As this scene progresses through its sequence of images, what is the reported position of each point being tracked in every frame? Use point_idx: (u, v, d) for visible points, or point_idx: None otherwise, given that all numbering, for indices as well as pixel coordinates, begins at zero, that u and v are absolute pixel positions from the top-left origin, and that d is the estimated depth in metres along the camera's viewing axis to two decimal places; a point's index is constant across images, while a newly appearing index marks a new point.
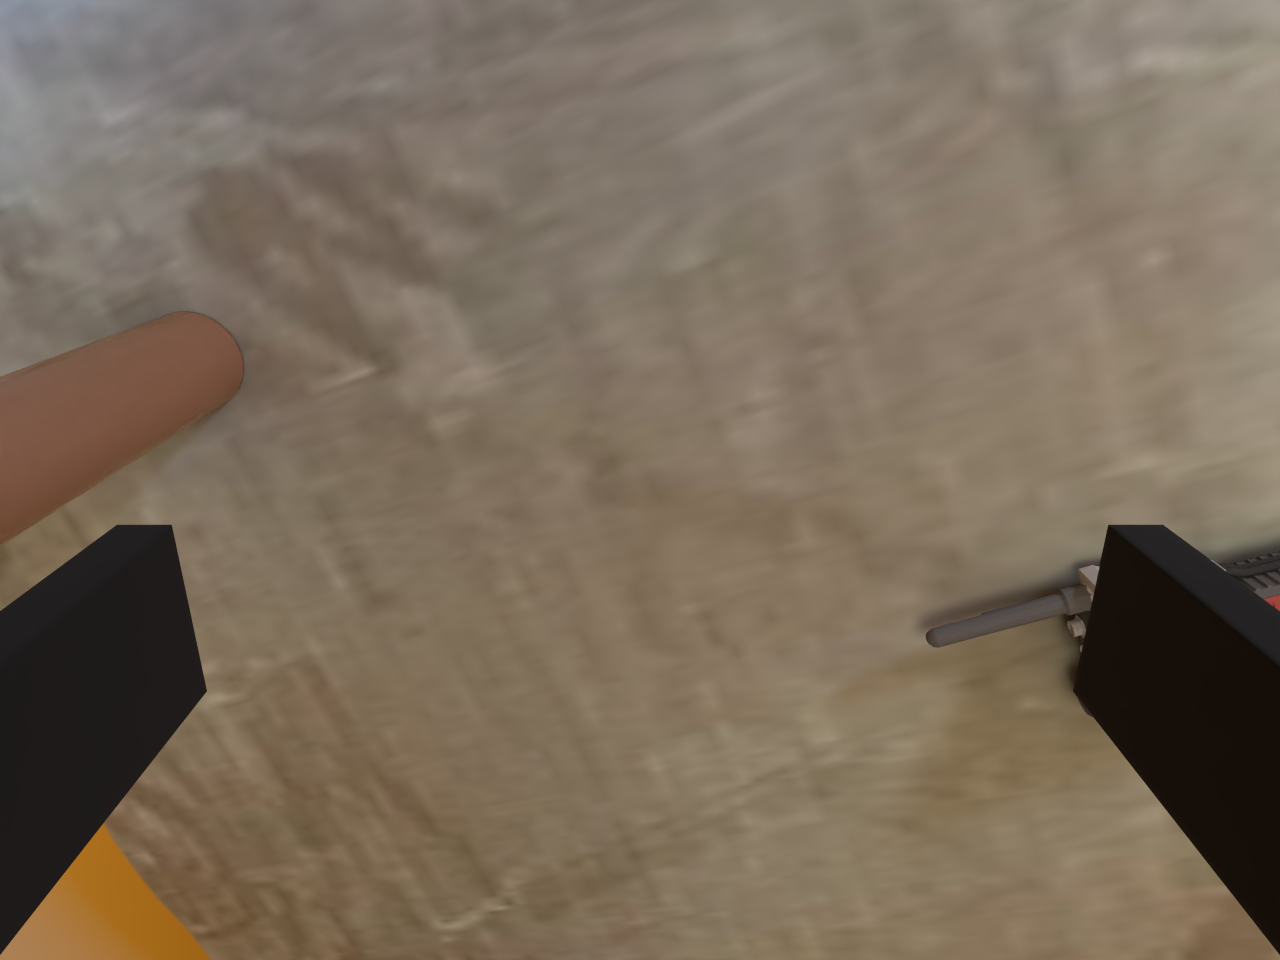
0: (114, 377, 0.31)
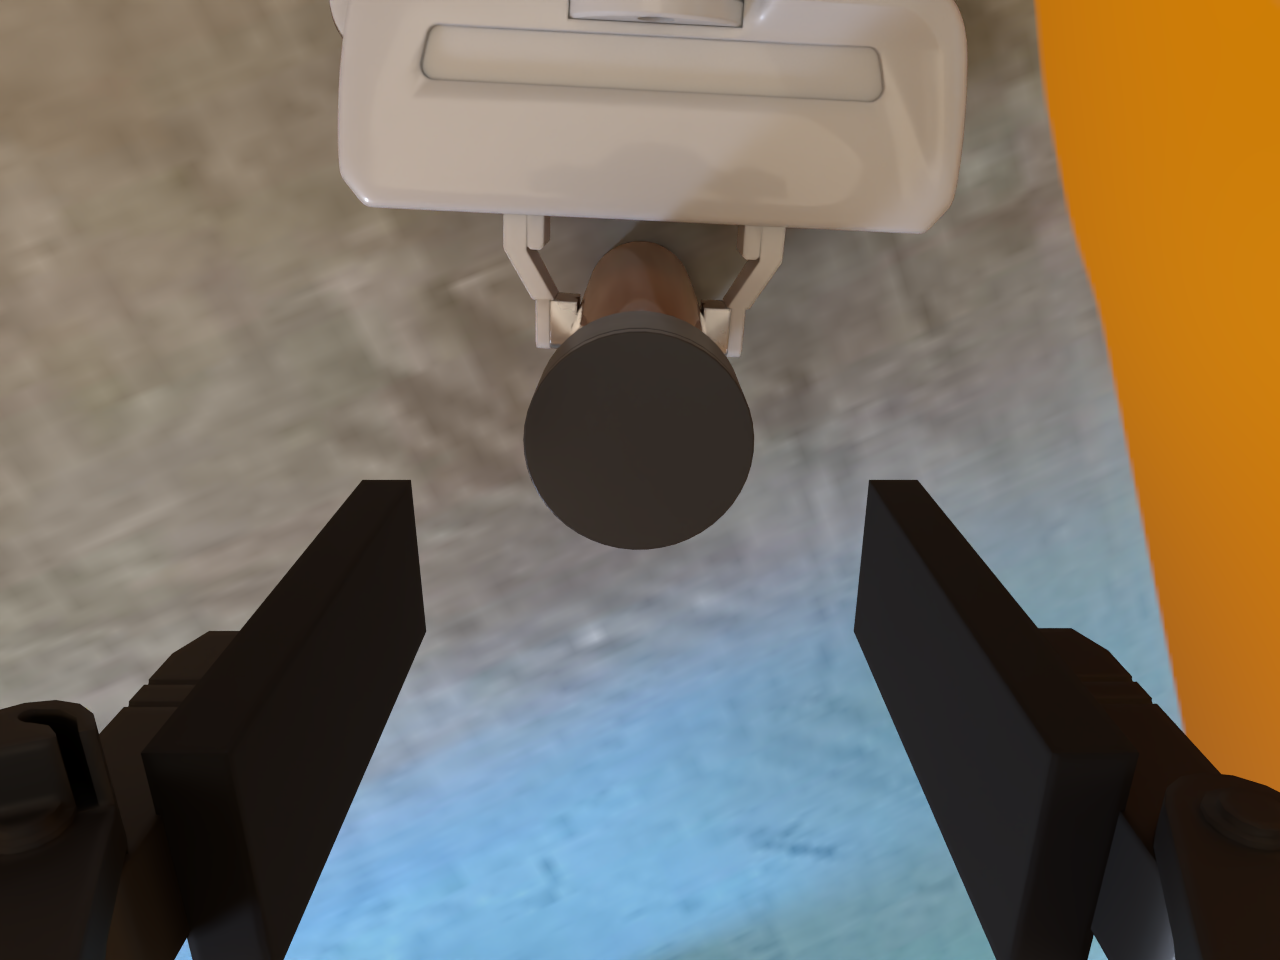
0: None
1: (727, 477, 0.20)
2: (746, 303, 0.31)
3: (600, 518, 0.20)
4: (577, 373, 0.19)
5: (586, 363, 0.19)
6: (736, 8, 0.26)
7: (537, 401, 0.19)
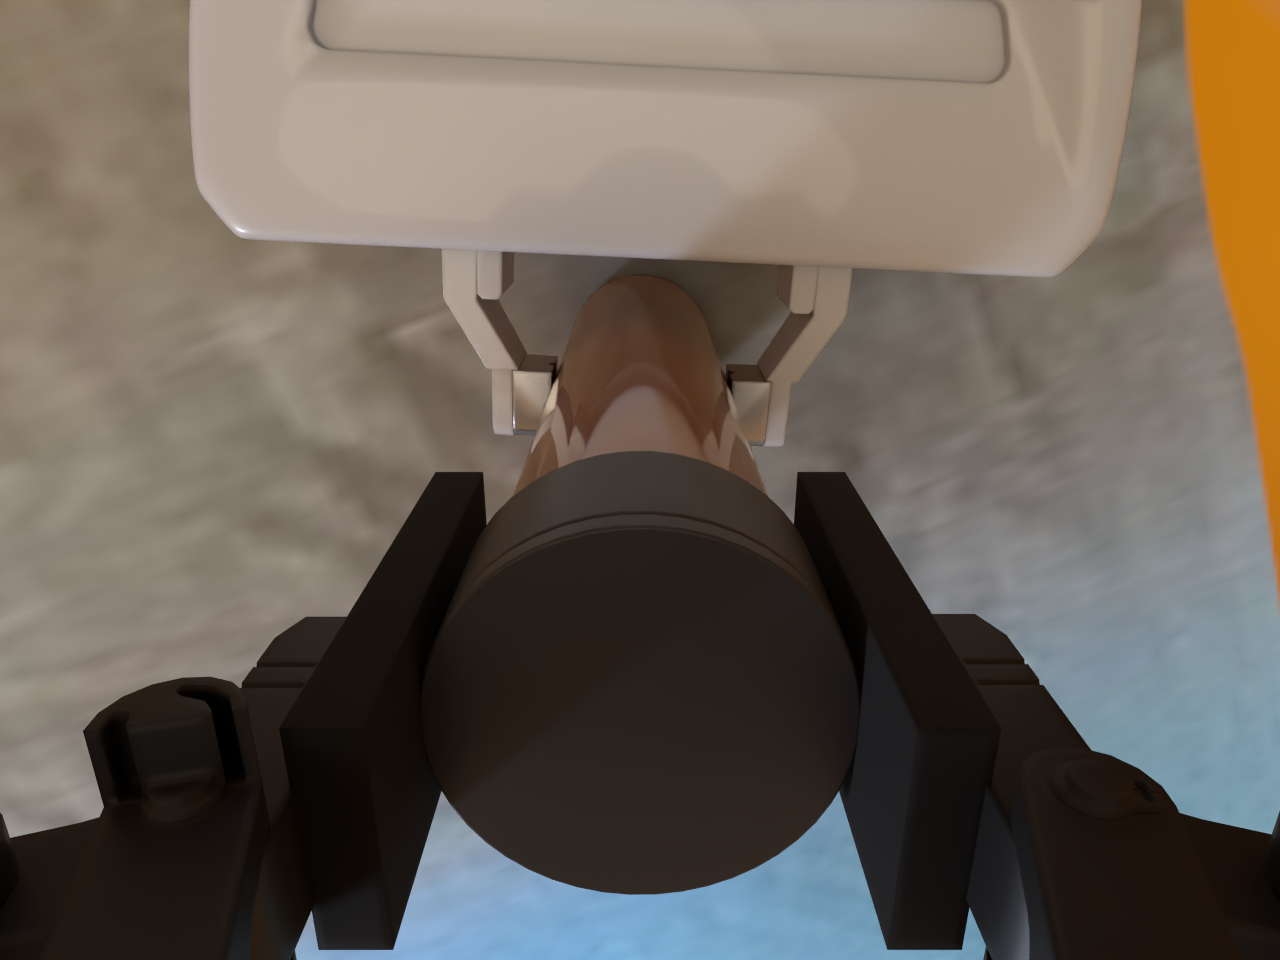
0: None
1: (807, 780, 0.10)
2: (793, 374, 0.21)
3: (568, 846, 0.11)
4: (519, 602, 0.09)
5: (536, 584, 0.09)
6: None
7: (442, 651, 0.10)
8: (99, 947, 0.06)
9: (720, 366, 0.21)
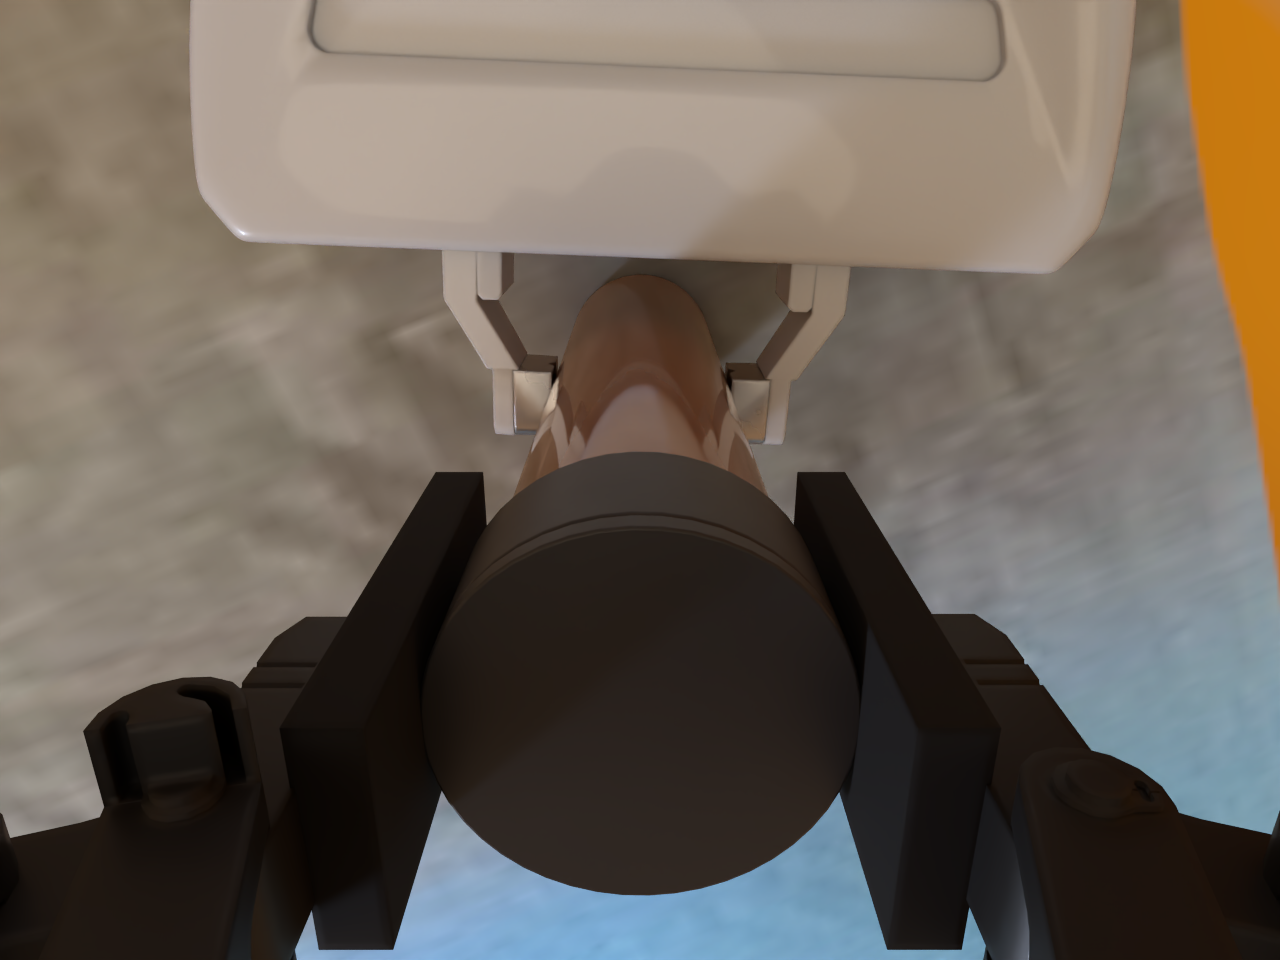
0: None
1: (667, 565, 0.09)
2: (792, 372, 0.21)
3: (803, 761, 0.10)
4: (533, 841, 0.11)
5: (512, 831, 0.11)
6: None
7: (600, 885, 0.11)
8: (98, 950, 0.06)
9: (719, 365, 0.21)
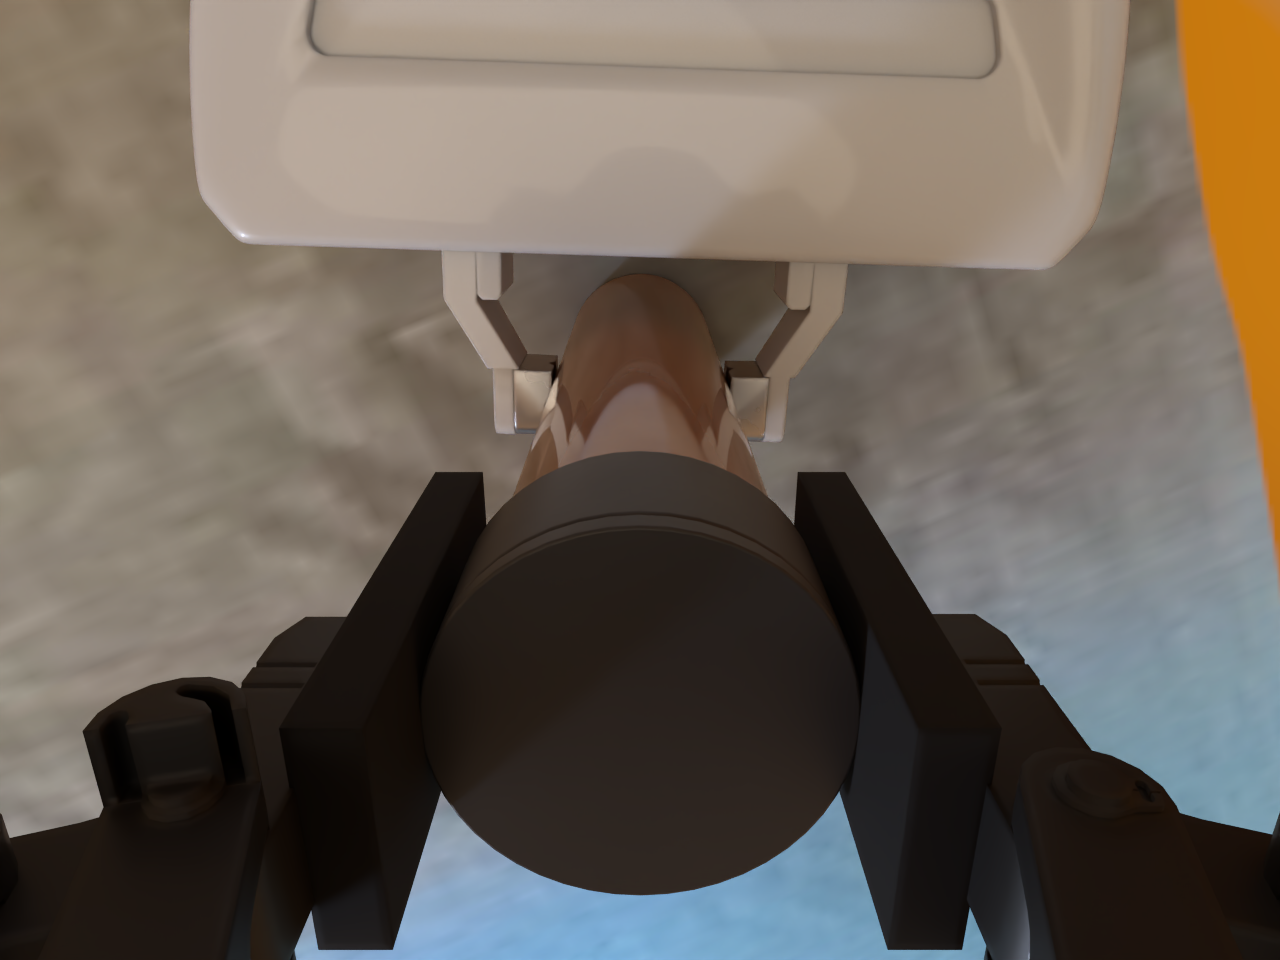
0: None
1: (458, 742, 0.10)
2: (791, 370, 0.22)
3: (642, 577, 0.09)
4: (799, 792, 0.10)
5: (791, 810, 0.10)
6: None
7: (850, 725, 0.10)
8: (98, 948, 0.06)
9: (718, 363, 0.22)
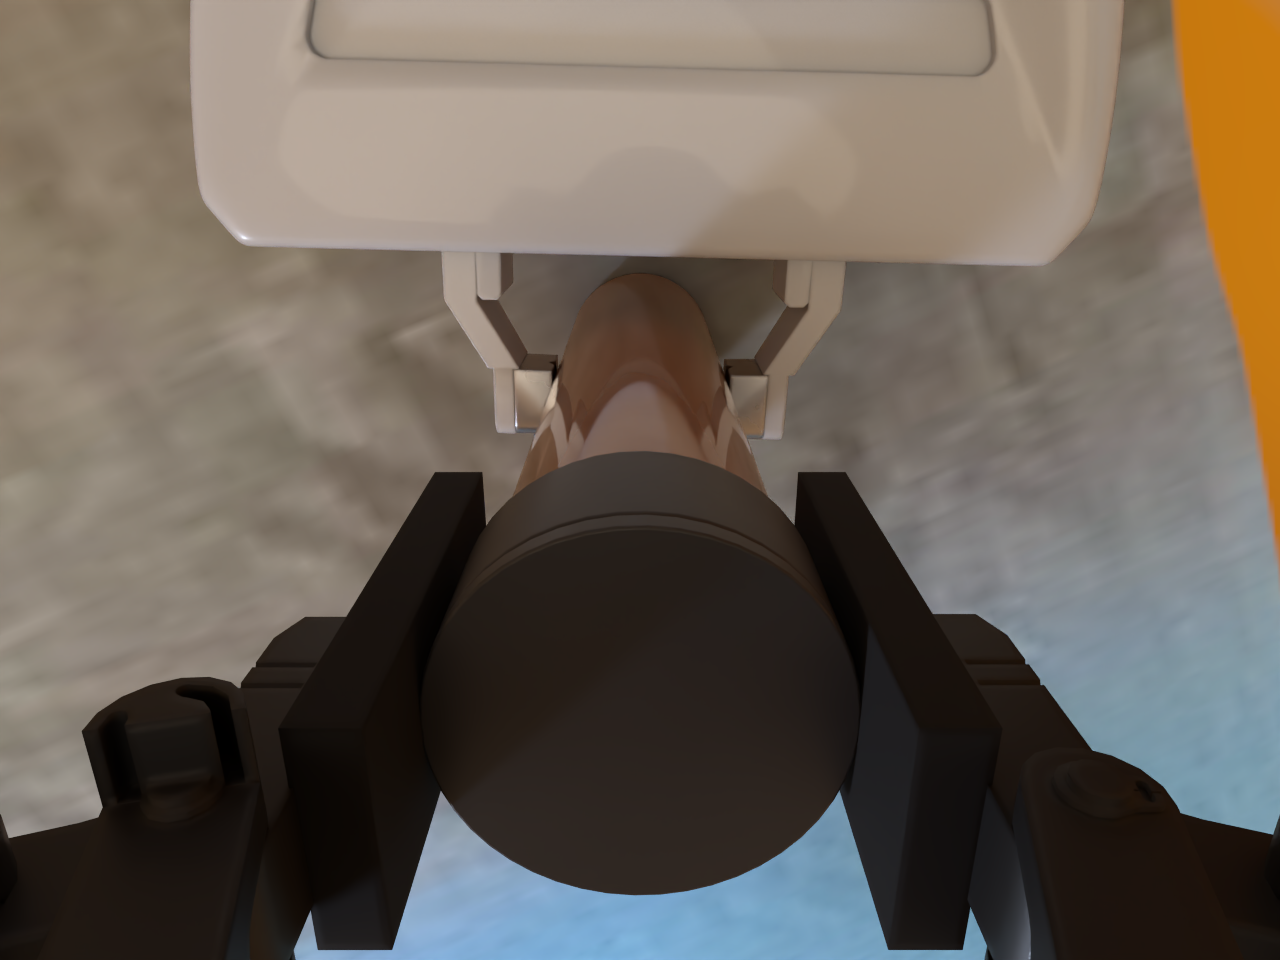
0: None
1: (694, 863, 0.11)
2: (790, 367, 0.22)
3: (476, 757, 0.10)
4: (683, 569, 0.09)
5: (710, 570, 0.09)
6: None
7: (585, 543, 0.09)
8: (98, 950, 0.06)
9: (718, 361, 0.22)
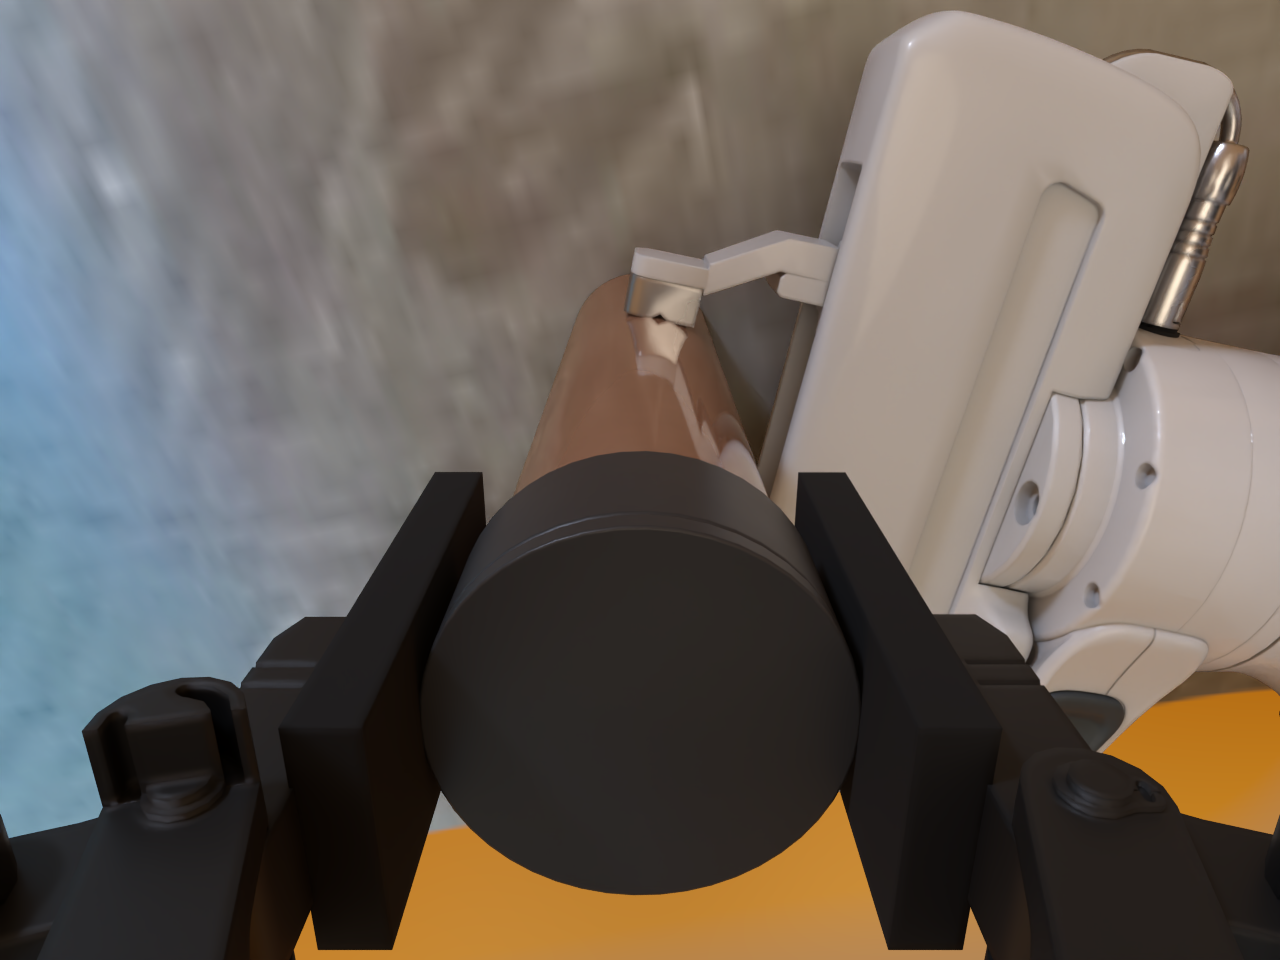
0: (585, 344, 0.20)
1: (693, 863, 0.11)
2: None
3: (477, 756, 0.10)
4: (683, 569, 0.09)
5: (711, 570, 0.09)
6: (1002, 583, 0.23)
7: (585, 543, 0.09)
8: (97, 950, 0.06)
9: None
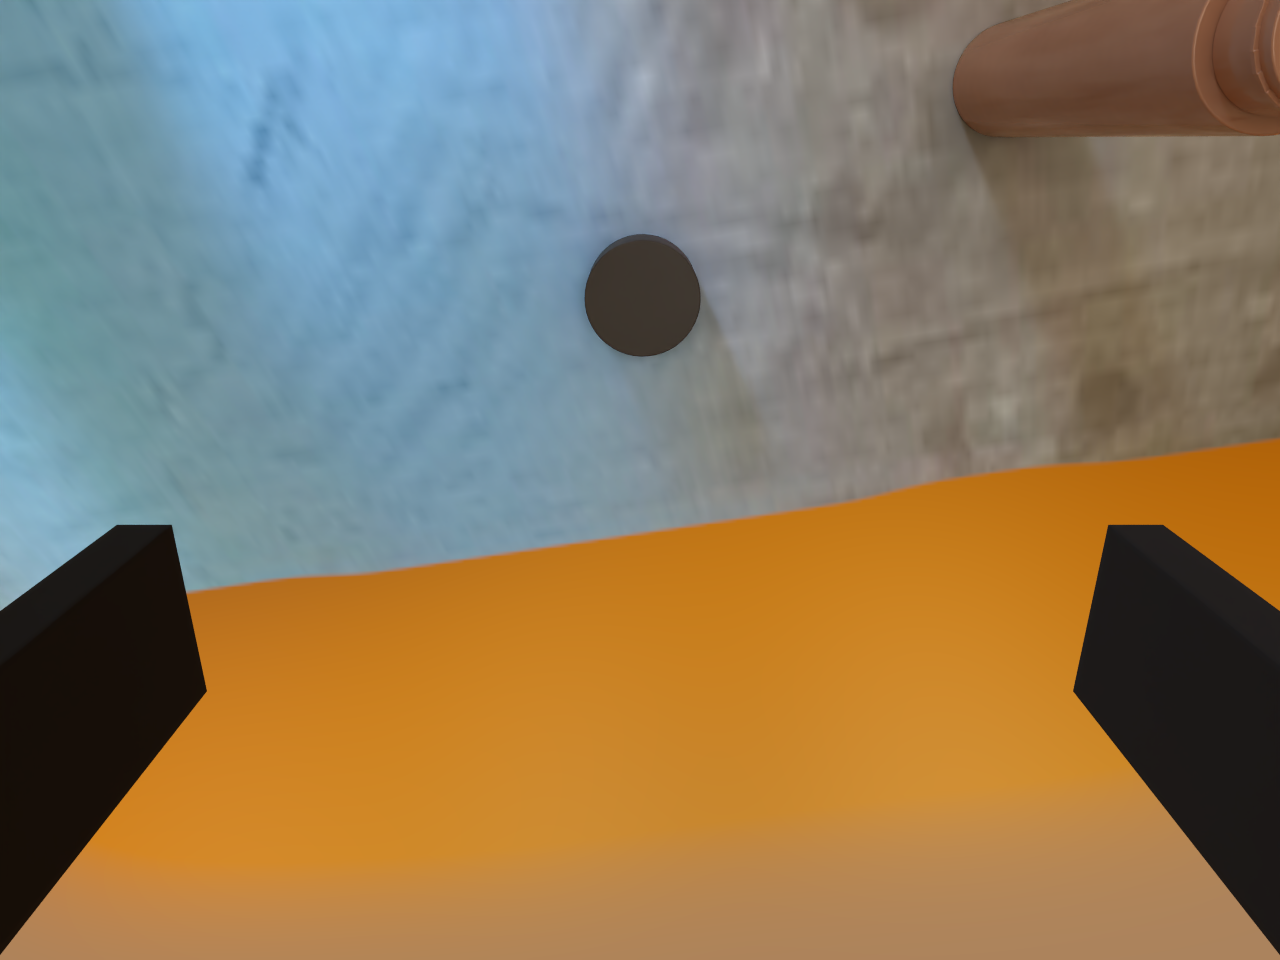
0: None
1: (657, 344, 0.39)
2: None
3: (599, 309, 0.39)
4: (653, 251, 0.38)
5: (659, 252, 0.38)
6: None
7: (629, 244, 0.38)
8: None
9: None
